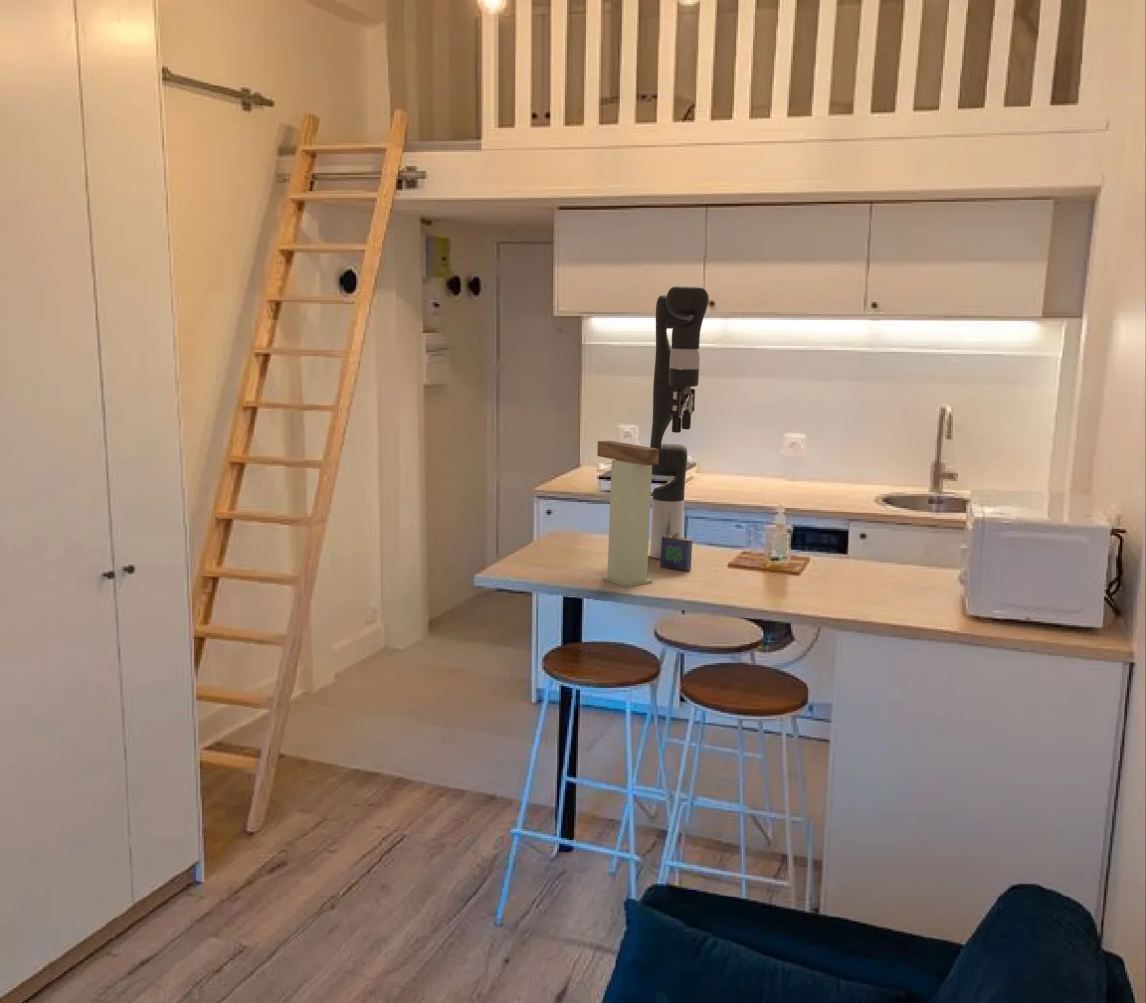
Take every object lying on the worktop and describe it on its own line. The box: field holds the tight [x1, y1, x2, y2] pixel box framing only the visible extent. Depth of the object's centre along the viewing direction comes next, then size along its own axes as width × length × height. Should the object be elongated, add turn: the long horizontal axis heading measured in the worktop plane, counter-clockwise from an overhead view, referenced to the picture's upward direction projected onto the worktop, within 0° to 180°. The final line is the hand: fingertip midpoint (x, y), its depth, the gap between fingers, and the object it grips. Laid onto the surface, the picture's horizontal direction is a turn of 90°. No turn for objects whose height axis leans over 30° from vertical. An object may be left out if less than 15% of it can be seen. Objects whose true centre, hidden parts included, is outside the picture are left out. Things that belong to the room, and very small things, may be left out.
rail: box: [596, 440, 659, 466], centre depth 265 cm, size 4×20×4 cm, turn 37°
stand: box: [601, 459, 653, 588], centre depth 266 cm, size 9×10×32 cm
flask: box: [659, 532, 693, 572], centre depth 283 cm, size 9×3×11 cm, turn 60°
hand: (681, 430), depth 259 cm, fingers open, 8 cm apart
